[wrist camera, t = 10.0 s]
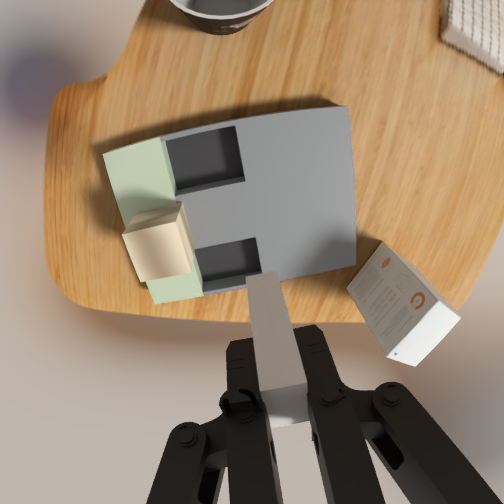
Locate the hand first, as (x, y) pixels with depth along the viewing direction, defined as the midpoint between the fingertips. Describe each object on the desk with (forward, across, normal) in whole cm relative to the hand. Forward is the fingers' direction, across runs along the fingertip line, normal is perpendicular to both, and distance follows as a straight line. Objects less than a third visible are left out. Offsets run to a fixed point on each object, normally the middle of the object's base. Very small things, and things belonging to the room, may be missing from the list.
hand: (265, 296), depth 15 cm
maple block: (+16, -8, -2) cm, 18 cm away
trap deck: (+19, -1, -2) cm, 19 cm away
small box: (+19, +16, -15) cm, 29 cm away
